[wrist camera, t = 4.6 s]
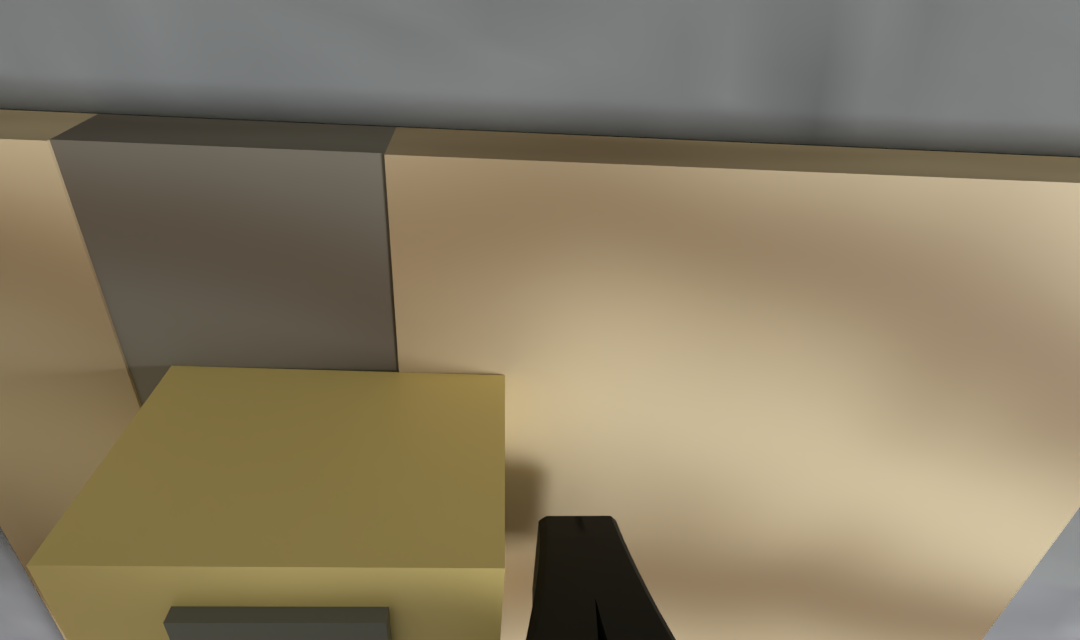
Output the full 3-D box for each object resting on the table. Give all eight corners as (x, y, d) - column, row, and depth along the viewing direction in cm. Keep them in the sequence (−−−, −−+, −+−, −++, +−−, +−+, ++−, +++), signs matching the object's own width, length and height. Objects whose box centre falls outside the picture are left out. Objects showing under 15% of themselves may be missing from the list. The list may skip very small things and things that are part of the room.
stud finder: (493, 608, 13) (489, 822, 10) (241, 607, 13) (158, 830, 10) (505, 375, 10) (505, 584, 7) (171, 365, 10) (13, 582, 7)
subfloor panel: (849, 750, 20) (868, 794, 19) (187, 775, 19) (170, 824, 18) (1230, 164, 10) (1311, 192, 9) (-141, 103, 9) (-226, 129, 8)
